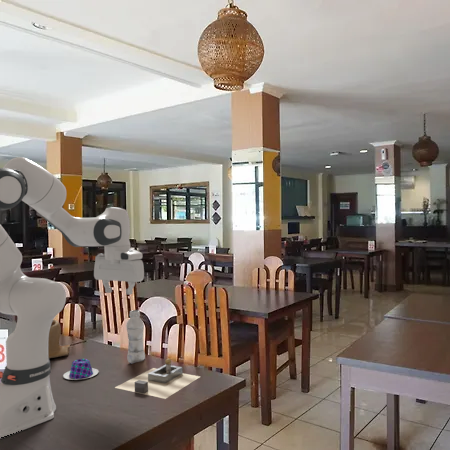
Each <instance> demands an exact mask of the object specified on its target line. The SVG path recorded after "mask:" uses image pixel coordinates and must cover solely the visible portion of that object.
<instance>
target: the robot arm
mask: <svg viewBox="0 0 450 450" xmlns="http://www.w3.org/2000/svg"><path fill="white" fill-rule="evenodd" d="M66 200H67V189H66V186H65V185H64V184H63V182H61V180H60V179H59V178H58V177H57V176H55V175H54V174H53V173H51V172H50V171H49V170H47V169H45V168H44V167H43V166H41V165H39V164H38V163H36V162H34V161H33V160H30V159H28V158H26V157H23V156H18V157H13V158H11V159H9V160H8V161H7V162H6V163H5V164H4V165H3V166H2V167H0V211H6V210H10V209H13V208H14V207H16V206H17V205H18V204H20V203H21V202H24V203H25V204H27V205H28V206H29V207H31V208H32V209H33V210H35V212H37V214H38V215H40V216H41V217H42V218H43V220H46V222H48V223H49V224H51V226H52V227H54V228H56V229H57V230H58V232H60V233H61V235H62V236H63V238H64V239H65V241H66V242H67V244H69V245H70V246H72V247H73V248H81V247H104V253H98V254H97V255H96V256H95V260H94V261H95V262H94V269H93V277H94V279H95V280H97V281H100V280H101V281H102V285H103V286H104V291H105V293H107V294H109V293H110V294H111V293H112V292H113V287H111V286H110V281H114V282H116V281H117V282H127V284H128V288H126V289H125V294H126V295H133V294H134V292H133V289H134V287H135V285H136V283H137V282H143V280H144V278H145V269H144V268H145V267H144V262H143V260H142V259H143V255H144V254H143V252H140V251H139V250H136V249H135V248H134V249H133V248H132V247H131V242H130V235H131V225H130V223H131V222H130V216H129V213H128V211H127V210H126V209H125V208H121V207H114V206H111V207H106V208H105V210H104V211H103V212H102V213H101V214H99V215H97V216H96V217H79V216H76V217H75V216H73V215H71V214H70V213H69V212H68V211H67V210H66V209H65V208H63V206H64V204H65V202H66ZM22 262H23V255H22V252H21V251H20V249H19V248H18V247H17V245H16V243H14V241H13V240H12V238H11V236H9V234H8V232H7V231H6V230H5V228H4V227H3V226H2V224H0V313H1V314H4V315H10V316H17V320H16V325H15V329H14V331H13V332H11V333H10V334H9V335H8V337H6V340H5V349H6V350H5V355H6V356H5V360H6V366H5V367H4V369H3V371H0V439H2V438H1V437H4V436H7V435H9V436H11V435H10V434H12V435H14V434H17V433H19V432H22V431H24V430H27V429H30V428H32V427H34V426H37V425H40V424H42V423H45V422H48V421H50V420H52V419H54V418H55V412H56V410H57V405H56V403H55V400H54V397H53V396H54V395H53V392H52V385H51V379H50V375H51V371H52V370H51V360H50V358H48V337H49V331H50V327H51V324H52V321H53V320H55V318H56V316H57V315H58V314H59V313H60V312H62V311H63V309H64V307H65V306H66V305H65V304H66V302H67V294H66V290H65V287H64V286H63V285H62V283H59V282H57V281H55V280H51V279H48V278H45V277H44V278H43V277H42V278H41V277H30V276H27V275H26V274H24V273H23V271H22V269H21V264H22ZM21 430H22V431H21ZM18 431H19V432H18ZM16 432H17V433H16ZM13 433H14V434H13ZM7 437H8V436H7ZM4 438H5V437H4Z"/></svg>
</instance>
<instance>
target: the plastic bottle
mask: <svg viewBox="0 0 450 450" xmlns="http://www.w3.org/2000/svg"><path fill="white" fill-rule="evenodd" d="M144 325H145V323H144V321H143V320H142V318H141V311H140V310H138V309H133V310H130V311H129V319H127V322H126V325H125V327H126V331H127V339H128V340H127V341H128V345H127V347H128V348H127V349H128V350H127V362H128V363H129V364H131V365H134V364H135V363H139V362H143V361H145V358H146V353H145V350H144V342H143V341H144V338H143V337H144Z"/></svg>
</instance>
